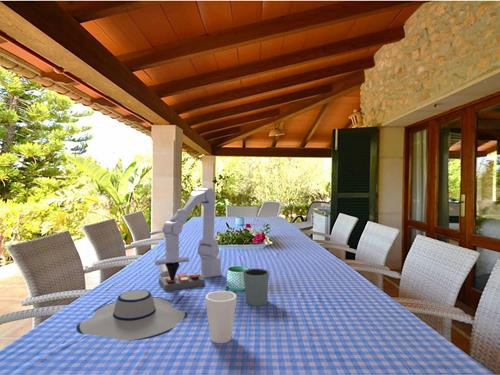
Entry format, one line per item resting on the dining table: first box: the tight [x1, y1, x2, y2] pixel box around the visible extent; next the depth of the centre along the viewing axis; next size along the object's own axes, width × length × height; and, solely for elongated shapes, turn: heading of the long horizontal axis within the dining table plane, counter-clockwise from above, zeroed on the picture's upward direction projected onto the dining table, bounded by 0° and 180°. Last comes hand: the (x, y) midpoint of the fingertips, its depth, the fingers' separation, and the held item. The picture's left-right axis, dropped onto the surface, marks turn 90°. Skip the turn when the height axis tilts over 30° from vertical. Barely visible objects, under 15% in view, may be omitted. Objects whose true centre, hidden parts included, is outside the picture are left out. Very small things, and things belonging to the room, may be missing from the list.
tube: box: [159, 257, 170, 278], centre depth 175 cm, size 5×5×25 cm
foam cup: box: [205, 290, 237, 344], centre depth 104 cm, size 10×9×13 cm
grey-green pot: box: [243, 268, 270, 307], centre depth 135 cm, size 10×10×12 cm
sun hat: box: [76, 289, 188, 342], centre depth 119 cm, size 36×36×9 cm
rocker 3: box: [189, 273, 202, 277], centre depth 157 cm, size 4×6×1 cm, turn 27°
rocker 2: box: [176, 272, 189, 282], centre depth 154 cm, size 4×6×1 cm, turn 27°
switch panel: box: [158, 272, 206, 292], centre depth 157 cm, size 18×12×3 cm, turn 117°
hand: (172, 279), depth 150 cm, fingers closed, pressing on rocker 1
